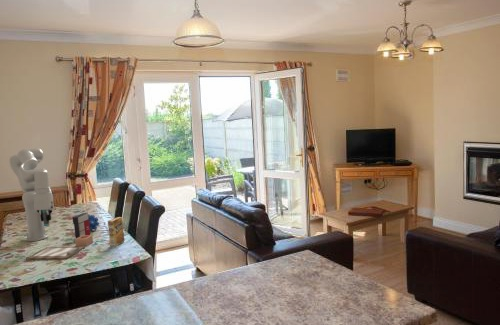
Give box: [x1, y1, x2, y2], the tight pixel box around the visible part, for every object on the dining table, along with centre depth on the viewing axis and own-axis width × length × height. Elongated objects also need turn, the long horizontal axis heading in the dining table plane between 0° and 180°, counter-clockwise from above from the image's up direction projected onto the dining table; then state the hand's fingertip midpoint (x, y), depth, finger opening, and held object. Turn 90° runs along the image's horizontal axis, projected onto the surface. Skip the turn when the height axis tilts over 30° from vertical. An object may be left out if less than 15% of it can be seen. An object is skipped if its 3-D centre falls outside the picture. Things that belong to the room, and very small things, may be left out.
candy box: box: [107, 216, 125, 247], centre depth 229 cm, size 9×4×15 cm, turn 162°
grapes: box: [88, 213, 100, 232], centre depth 261 cm, size 12×7×12 cm, turn 131°
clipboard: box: [25, 246, 86, 261], centre depth 217 cm, size 24×18×2 cm
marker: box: [42, 210, 50, 227], centre depth 230 cm, size 3×3×10 cm
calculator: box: [72, 212, 91, 239], centre depth 246 cm, size 11×4×15 cm, turn 168°
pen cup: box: [74, 234, 94, 247], centre depth 232 cm, size 7×7×4 cm
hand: (46, 220), depth 230 cm, fingers closed on marker, 3 cm apart
